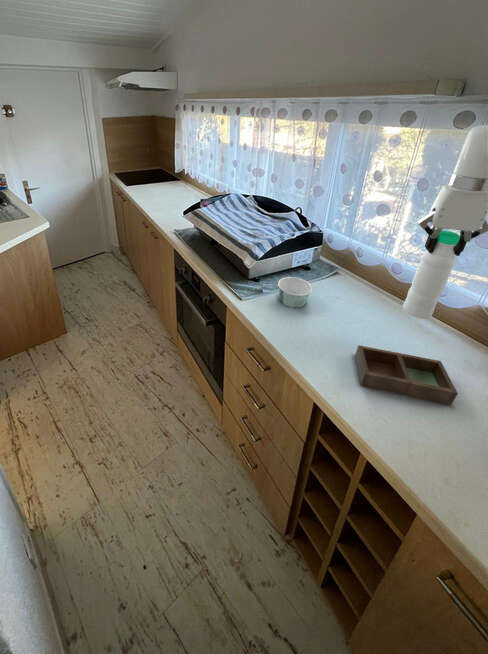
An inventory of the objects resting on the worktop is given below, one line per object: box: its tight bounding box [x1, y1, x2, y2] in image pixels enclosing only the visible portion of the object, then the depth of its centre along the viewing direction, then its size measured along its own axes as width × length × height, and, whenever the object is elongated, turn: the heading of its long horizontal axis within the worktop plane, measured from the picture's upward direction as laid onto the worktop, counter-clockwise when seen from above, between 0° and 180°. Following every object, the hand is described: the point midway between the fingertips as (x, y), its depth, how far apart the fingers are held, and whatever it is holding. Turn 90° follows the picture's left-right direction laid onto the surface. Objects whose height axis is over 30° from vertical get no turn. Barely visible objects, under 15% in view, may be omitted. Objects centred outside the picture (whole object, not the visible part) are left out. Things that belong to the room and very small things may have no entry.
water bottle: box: [402, 230, 460, 320], centre depth 83 cm, size 7×7×25 cm
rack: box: [354, 344, 459, 407], centre depth 82 cm, size 20×11×5 cm, turn 72°
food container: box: [277, 276, 313, 308], centre depth 113 cm, size 12×12×6 cm
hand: (442, 251), depth 80 cm, fingers closed on water bottle, 5 cm apart
